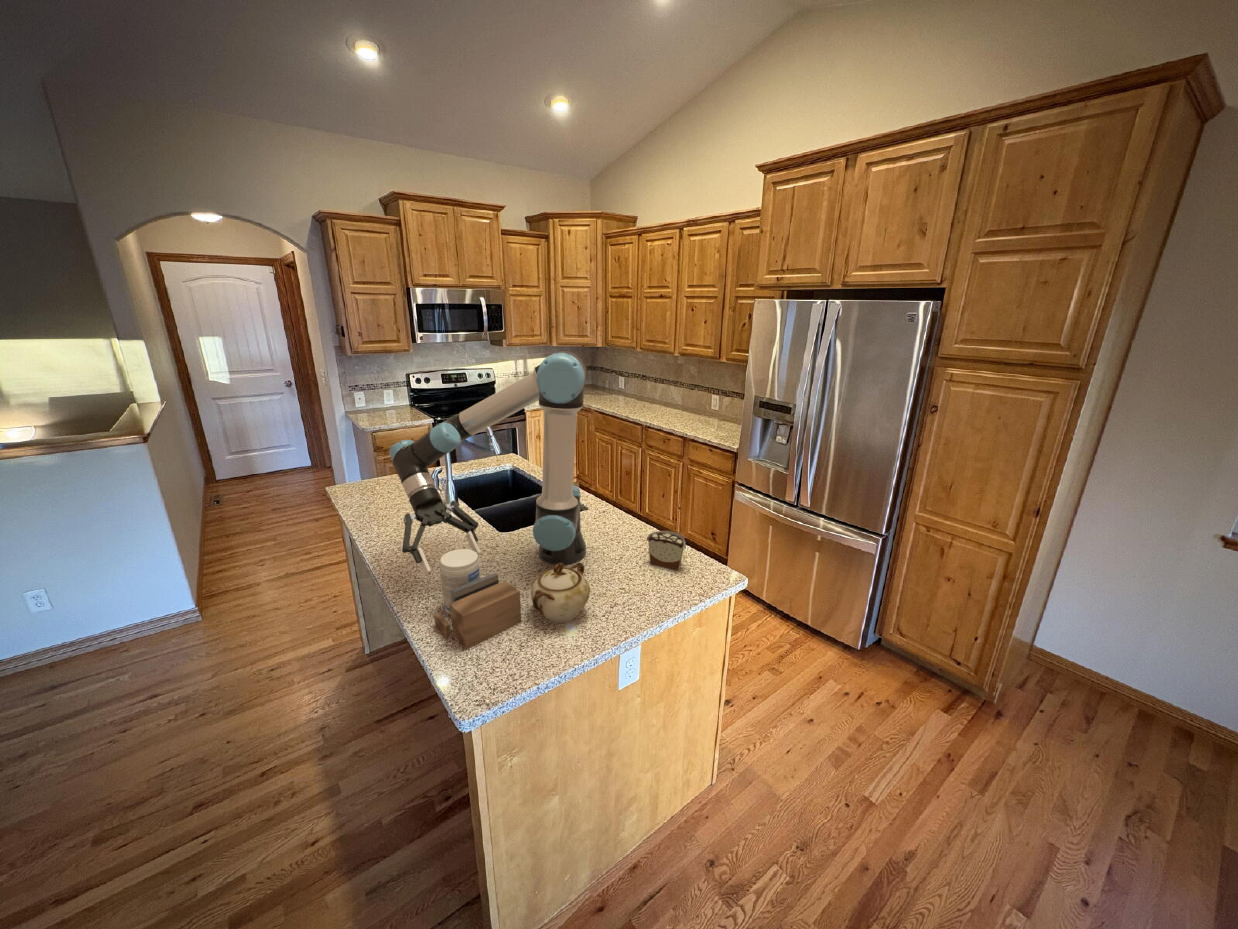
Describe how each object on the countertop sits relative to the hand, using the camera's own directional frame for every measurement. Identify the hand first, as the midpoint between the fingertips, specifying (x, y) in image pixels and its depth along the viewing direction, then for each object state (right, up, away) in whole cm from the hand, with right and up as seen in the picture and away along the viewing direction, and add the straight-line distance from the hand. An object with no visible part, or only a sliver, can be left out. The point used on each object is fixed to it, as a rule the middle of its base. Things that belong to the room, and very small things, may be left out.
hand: (454, 563), depth 124 cm
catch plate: (+7, -13, -2) cm, 15 cm away
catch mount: (+8, -14, -3) cm, 17 cm away
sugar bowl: (+27, -13, +1) cm, 31 cm away
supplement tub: (+1, -12, +3) cm, 13 cm away
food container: (+58, -6, +26) cm, 64 cm away
